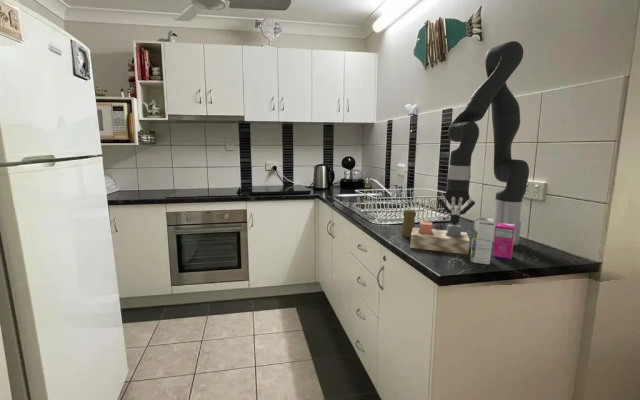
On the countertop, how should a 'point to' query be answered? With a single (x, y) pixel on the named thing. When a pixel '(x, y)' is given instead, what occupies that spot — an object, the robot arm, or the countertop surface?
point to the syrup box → (482, 240)
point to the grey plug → (454, 230)
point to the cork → (408, 222)
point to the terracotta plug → (425, 228)
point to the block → (440, 241)
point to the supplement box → (503, 241)
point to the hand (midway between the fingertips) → (454, 224)
